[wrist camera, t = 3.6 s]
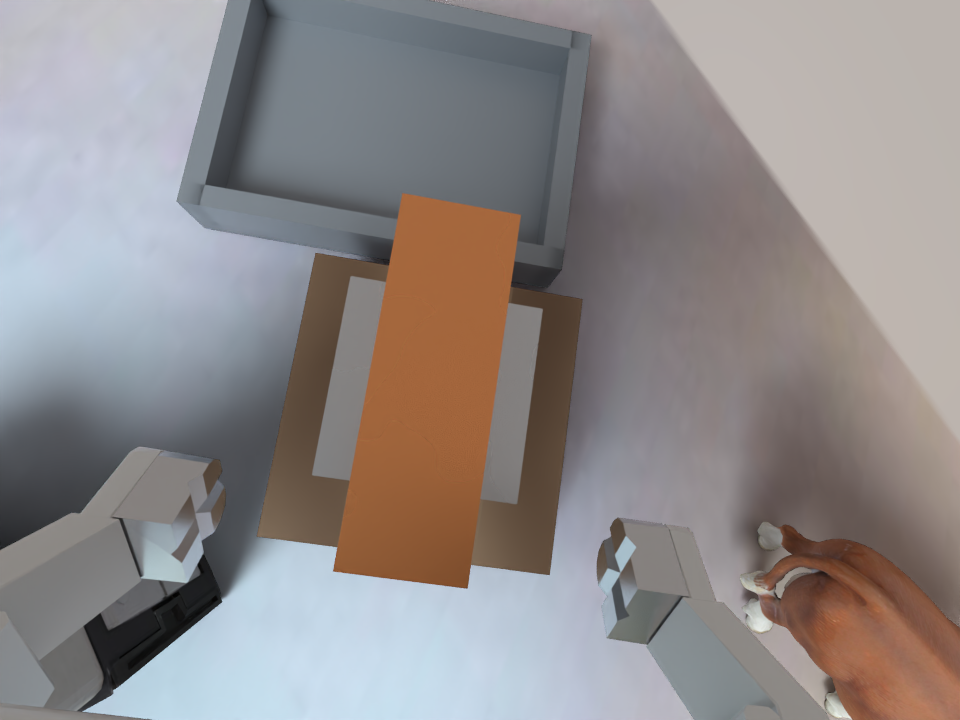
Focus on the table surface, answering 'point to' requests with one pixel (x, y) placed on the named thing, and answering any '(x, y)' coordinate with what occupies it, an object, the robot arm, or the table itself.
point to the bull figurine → (860, 628)
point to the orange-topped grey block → (429, 394)
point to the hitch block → (321, 500)
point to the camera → (127, 637)
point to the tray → (386, 123)
